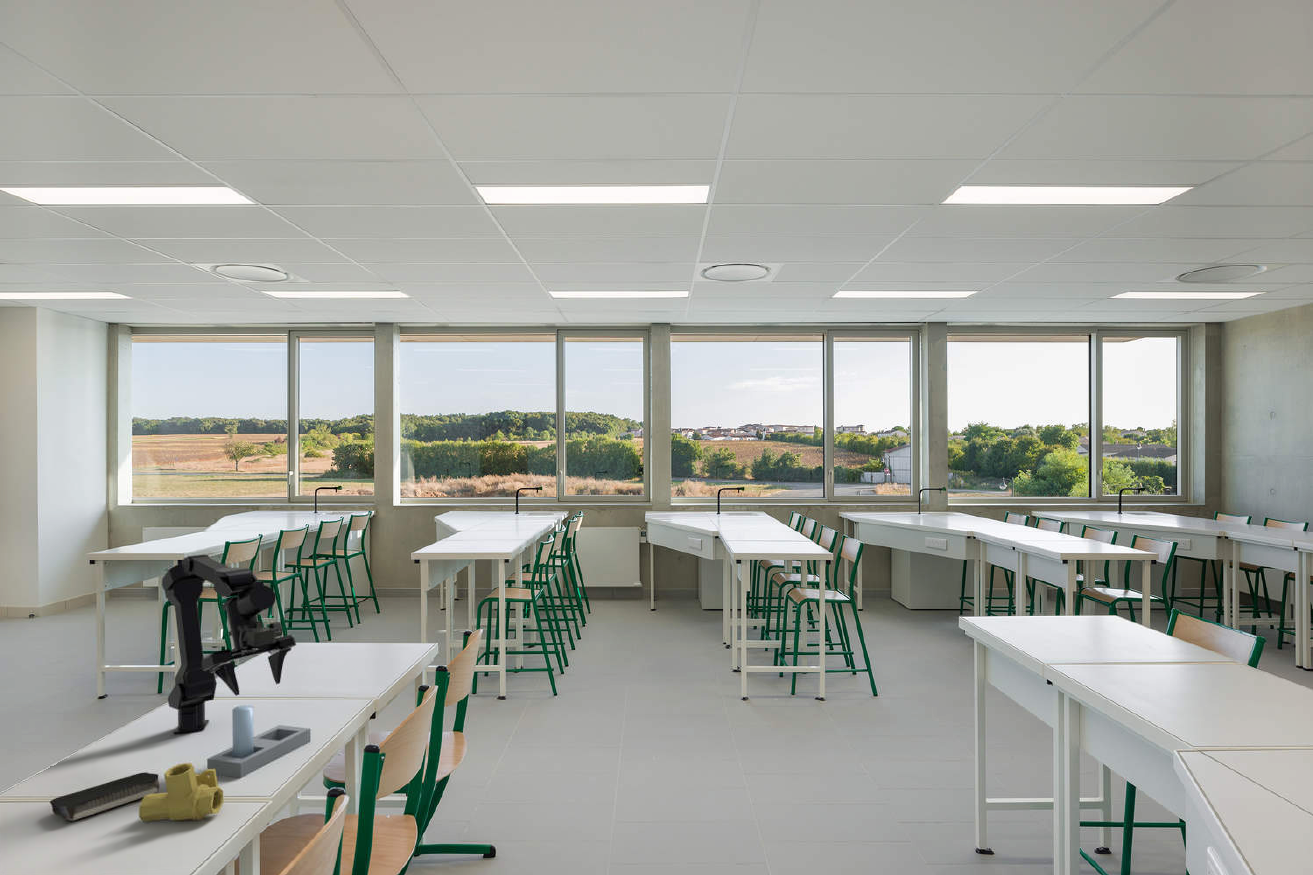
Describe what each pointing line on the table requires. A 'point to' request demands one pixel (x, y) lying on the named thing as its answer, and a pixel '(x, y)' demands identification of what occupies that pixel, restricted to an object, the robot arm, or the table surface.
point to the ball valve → (184, 796)
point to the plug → (243, 731)
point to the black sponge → (105, 796)
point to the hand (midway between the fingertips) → (258, 689)
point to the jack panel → (260, 751)
